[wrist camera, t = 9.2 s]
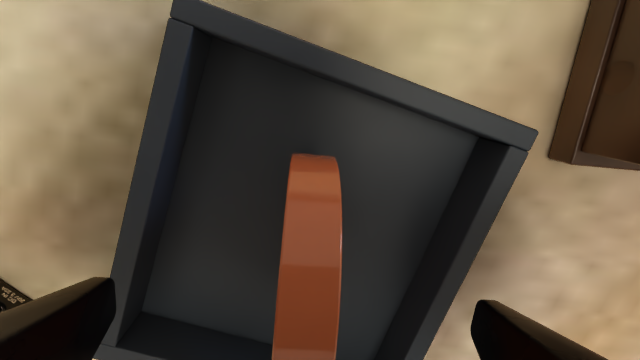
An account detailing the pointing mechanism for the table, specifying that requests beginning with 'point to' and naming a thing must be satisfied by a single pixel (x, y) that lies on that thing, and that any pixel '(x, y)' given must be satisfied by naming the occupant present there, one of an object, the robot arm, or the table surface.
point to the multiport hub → (10, 297)
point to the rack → (603, 91)
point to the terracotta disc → (310, 262)
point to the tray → (271, 187)
